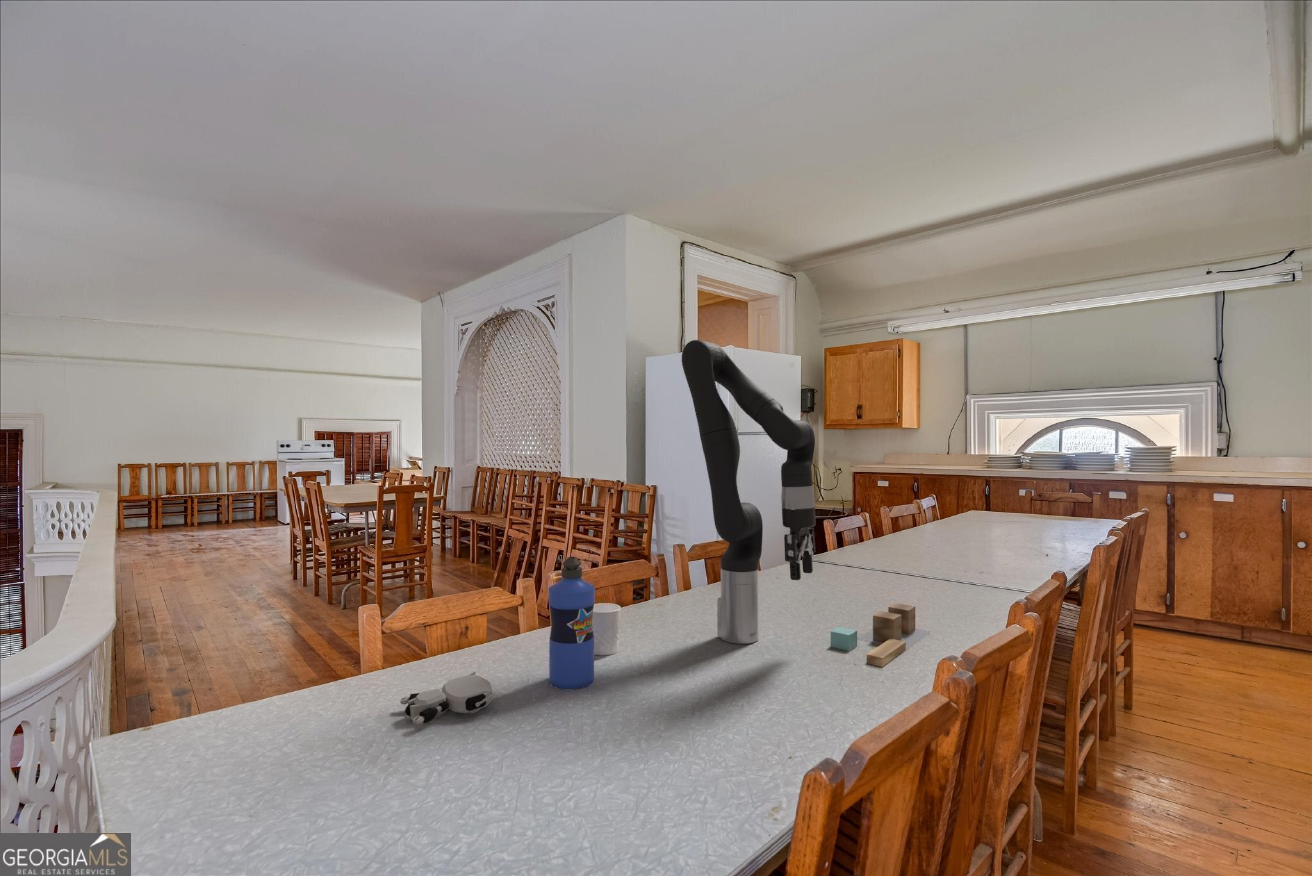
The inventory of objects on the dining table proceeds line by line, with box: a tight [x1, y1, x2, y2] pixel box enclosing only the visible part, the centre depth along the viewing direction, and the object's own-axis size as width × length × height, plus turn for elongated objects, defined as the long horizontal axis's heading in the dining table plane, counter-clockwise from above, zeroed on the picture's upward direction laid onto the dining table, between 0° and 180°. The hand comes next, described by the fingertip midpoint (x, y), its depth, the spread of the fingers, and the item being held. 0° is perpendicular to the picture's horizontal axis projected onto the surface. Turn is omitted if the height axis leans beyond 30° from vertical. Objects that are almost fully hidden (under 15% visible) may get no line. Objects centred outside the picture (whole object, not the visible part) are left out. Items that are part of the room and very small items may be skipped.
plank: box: [866, 639, 907, 671], centre depth 139 cm, size 4×14×3 cm, turn 139°
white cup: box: [592, 602, 622, 656], centre depth 145 cm, size 8×8×10 cm
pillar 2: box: [888, 602, 916, 635], centre depth 157 cm, size 5×5×6 cm
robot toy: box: [399, 671, 499, 725], centre depth 112 cm, size 12×4×15 cm
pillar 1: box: [872, 610, 901, 643], centre depth 150 cm, size 5×5×6 cm
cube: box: [830, 626, 858, 652], centre depth 145 cm, size 4×4×4 cm
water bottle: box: [548, 556, 596, 690], centre depth 127 cm, size 9×9×25 cm
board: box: [857, 627, 932, 651], centre depth 154 cm, size 12×18×1 cm, turn 139°
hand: (801, 576), depth 144 cm, fingers open, 8 cm apart
